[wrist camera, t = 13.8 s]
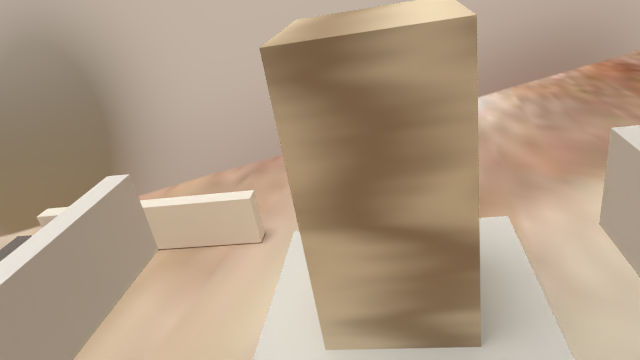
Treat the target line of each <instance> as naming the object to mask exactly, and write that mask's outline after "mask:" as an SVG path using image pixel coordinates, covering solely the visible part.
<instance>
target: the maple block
mask: <svg viewBox="0 0 640 360" xmlns="http://www.w3.org/2000/svg"><path fill="white" fill-rule="evenodd" d="M476 17H477V16H476V14H475V13H473V12H472V11H470V10H469V9H468V8H466V7H465V6H463V5H462V4H460V3H459V2H457V1H456V0H415V1H409V2H403V3H396V4H391V5H384V6H378V7H372V8H366V9H360V10H353V11H347V12H341V13H335V14H328V15H322V16H316V17H310V18H304V19H298V20H295V21H294V22H292V23H291V24H290V25H289V26H287V27H286V28H285V29H283V30H282V31H281V32H279V33H278V34H277V35H275V36H274V37H273V38H272V39H270V40H269V41H268V42H266V43H265V44H264V45H262V46H261V47H260V52H261V57H262V62H263V66H264V71H265V76H266V80H267V85H268V89H269V94H270V99H271V103H272V107H273V112H274V116H275V121H276V126H277V131H278V135H279V140H280V144H281V149H282V153H283V158H284V163H285V167H286V172H287V176H288V181H289V185H290V190H291V195H292V199H293V204H294V208H295V213H296V218H297V222H298V227H299V231H300V236H301V240H302V245H303V250H304V254H305V259H306V263H307V268H308V272H309V277H310V282H311V286H312V291H313V295H314V300H315V305H316V309H317V314H318V318H319V323H320V327H321V332H322V337H323V341H324V346H325V350H353V349H404V348H454V347H481V301H480V229H479V157H478V90H477V89H478V88H477V87H478V85H477V18H476Z"/></svg>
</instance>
